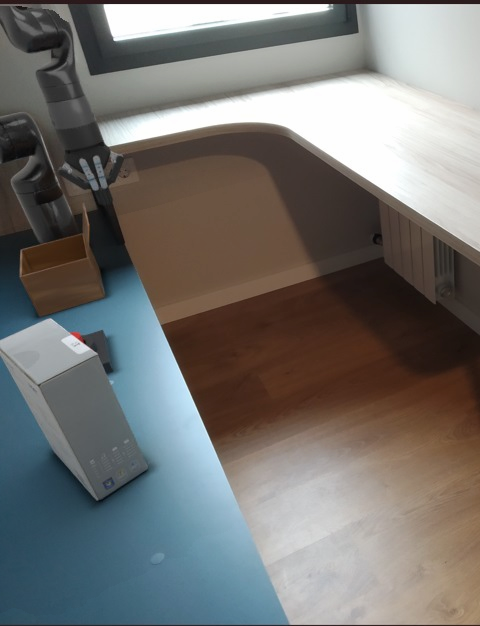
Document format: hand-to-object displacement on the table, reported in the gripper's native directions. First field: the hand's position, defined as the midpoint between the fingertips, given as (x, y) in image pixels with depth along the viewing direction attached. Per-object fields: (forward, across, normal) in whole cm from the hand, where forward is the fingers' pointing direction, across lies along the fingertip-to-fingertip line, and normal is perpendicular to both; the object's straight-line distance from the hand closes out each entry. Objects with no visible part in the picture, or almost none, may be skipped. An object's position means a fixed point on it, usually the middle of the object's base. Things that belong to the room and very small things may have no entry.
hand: (107, 204), depth 129 cm
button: (+13, +13, +31) cm, 36 cm away
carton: (+17, +13, 0) cm, 21 cm away
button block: (+17, +13, +31) cm, 37 cm away
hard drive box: (+17, +12, +59) cm, 62 cm away
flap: (+4, +6, 0) cm, 7 cm away
